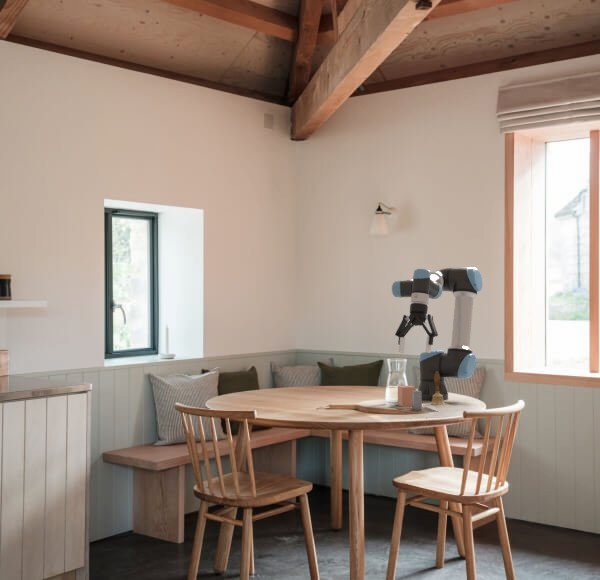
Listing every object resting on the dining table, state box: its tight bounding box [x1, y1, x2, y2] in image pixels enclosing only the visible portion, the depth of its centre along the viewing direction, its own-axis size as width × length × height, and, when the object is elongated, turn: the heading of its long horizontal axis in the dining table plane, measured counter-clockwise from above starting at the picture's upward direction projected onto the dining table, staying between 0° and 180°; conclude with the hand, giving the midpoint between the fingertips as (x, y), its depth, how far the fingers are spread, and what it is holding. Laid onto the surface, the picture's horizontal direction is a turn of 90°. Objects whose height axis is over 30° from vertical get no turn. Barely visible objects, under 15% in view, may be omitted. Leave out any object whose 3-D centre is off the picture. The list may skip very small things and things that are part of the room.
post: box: [411, 390, 423, 411], centre depth 334 cm, size 3×3×8 cm
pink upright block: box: [397, 385, 417, 408], centre depth 348 cm, size 6×6×10 cm
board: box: [395, 406, 439, 414], centre depth 333 cm, size 14×14×2 cm
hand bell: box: [430, 371, 446, 406], centre depth 353 cm, size 8×8×16 cm
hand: (414, 352), depth 337 cm, fingers open, 13 cm apart
